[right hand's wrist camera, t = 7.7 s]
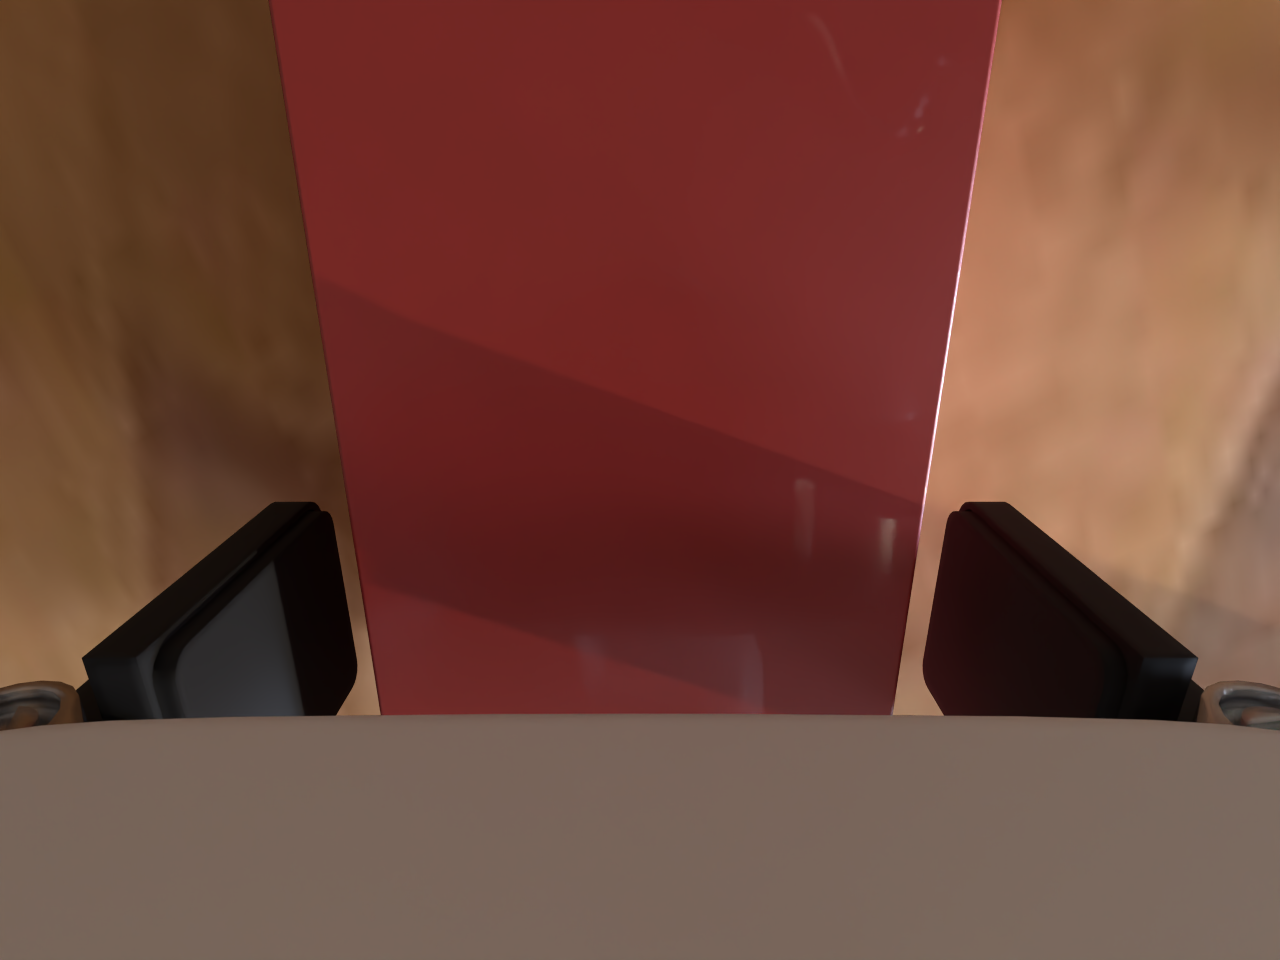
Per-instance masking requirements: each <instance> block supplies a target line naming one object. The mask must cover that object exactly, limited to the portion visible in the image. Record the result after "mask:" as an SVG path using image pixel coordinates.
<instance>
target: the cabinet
mask: <svg viewBox="0 0 1280 960" xmlns="http://www.w3.org/2000/svg"><path fill="white" fill-rule="evenodd" d="M268 1H269V7H270V14H271V20H272V26H273V33H274V39H275V45H276V52H277V58H278V64H279V71H280V77H281V83H282V90H283V96H284V103H285V109H286V115H287V122H288V128H289V134H290V141H291V147H292V153H293V160H294V166H295V172H296V179H297V185H298V192H299V198H300V204H301V211H302V217H303V223H304V230H305V236H306V242H307V249H308V255H309V261H310V268H311V274H312V281H313V287H314V293H315V300H316V306H317V312H318V319H319V325H320V331H321V338H322V344H323V350H324V357H325V363H326V369H327V376H328V382H329V389H330V395H331V401H332V408H333V414H334V420H335V427H336V433H337V439H338V446H339V452H340V458H341V465H342V471H343V478H344V484H345V490H346V497H347V503H348V509H349V516H350V522H351V528H352V535H353V541H354V547H355V554H356V560H357V567H358V573H359V579H360V586H361V592H362V598H363V605H364V611H365V617H366V624H367V630H368V636H369V643H370V649H371V656H372V662H373V668H374V675H375V681H376V687H377V694H378V700H379V706H380V713H381V715H457V714H798V715H892V714H893V707H894V701H895V694H896V688H897V681H898V675H899V668H900V662H901V655H902V649H903V642H904V636H905V629H906V622H907V616H908V609H909V603H910V596H911V590H912V583H913V577H914V570H915V564H916V557H917V551H918V544H919V538H920V531H921V525H922V518H923V511H924V505H925V498H926V492H927V485H928V479H929V472H930V466H931V459H932V453H933V446H934V440H935V433H936V427H937V420H938V414H939V407H940V400H941V394H942V387H943V381H944V374H945V368H946V361H947V355H948V348H949V342H950V335H951V329H952V322H953V316H954V309H955V303H956V296H957V289H958V283H959V276H960V270H961V263H962V257H963V250H964V244H965V237H966V231H967V224H968V218H969V211H970V205H971V198H972V192H973V185H974V178H975V172H976V165H977V159H978V152H979V146H980V139H981V133H982V126H983V120H984V113H985V107H986V100H987V94H988V87H989V81H990V74H991V67H992V61H993V54H994V48H995V41H996V35H997V28H998V22H999V15H1000V9H1001V2H1002V0H268Z"/></svg>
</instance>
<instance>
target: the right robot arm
mask: <svg viewBox="0 0 1280 960" xmlns="http://www.w3.org/2000/svg"><path fill="white" fill-rule="evenodd" d="M82 660H83V663H84V666H85V669H86V672H87V675H88V678H89V680H87V681H86V682H85V683H84V684H83V685H82V686H81V687H79V688H78V689H77V690H75V689H74V687H73V686H70V685H68V684H65V683H63V682H57V681H35V682H26V683H18V684H14V685H11V686H7V687H3V688H0V960H1280V688H1277V687H1273V686H1269V685H1266V684H1262V683H1254V682H1245V681H1223V682H1217V683H1215V684H1212V685H1210V686H1207V687H1206V689H1205V690H1203V689H1202V688H1201V687H1199V686H1198V685H1197V684H1196V683H1195V682H1194V681H1193V680H1191V678H1192V675H1193V672H1194V669H1195V666H1196V663H1197V660H1198V657H1196V656H1195V655H1194V654H1193V653H1192V652H1190V651H1189V650H1188V649H1187V648H1185V647H1184V646H1183V645H1182V644H1181V643H1179V642H1178V641H1177V640H1176V639H1174V638H1173V637H1172V636H1171V635H1169V634H1168V633H1167V632H1166V631H1165V630H1163V629H1162V628H1161V627H1160V626H1158V625H1157V624H1156V623H1155V622H1154V621H1152V620H1151V619H1150V618H1149V617H1147V616H1146V615H1145V614H1144V613H1142V612H1141V611H1140V610H1139V609H1138V608H1136V607H1135V606H1134V605H1133V604H1131V603H1130V602H1129V601H1128V600H1127V599H1125V598H1124V597H1123V596H1122V595H1120V594H1119V593H1118V592H1117V591H1115V590H1114V589H1113V588H1112V587H1111V586H1109V585H1108V584H1107V583H1106V582H1104V581H1103V580H1102V579H1101V578H1100V577H1098V576H1097V575H1096V574H1095V573H1093V572H1092V571H1091V570H1090V569H1089V568H1087V567H1086V566H1085V565H1084V564H1082V563H1081V562H1080V561H1079V560H1077V559H1076V558H1075V557H1074V556H1073V555H1071V554H1070V553H1069V552H1068V551H1066V550H1065V549H1064V548H1063V547H1062V546H1060V545H1059V544H1058V543H1057V542H1055V541H1054V540H1053V539H1052V538H1050V537H1049V536H1048V535H1047V534H1046V533H1044V532H1043V531H1042V530H1041V529H1039V528H1038V527H1037V526H1036V525H1035V524H1033V523H1032V522H1031V521H1030V520H1028V519H1027V518H1026V517H1025V516H1024V515H1022V514H1021V513H1020V512H1019V511H1017V510H1016V509H1015V508H1014V507H1012V506H1011V505H1010V504H1008V503H1006V502H965V503H964V504H963V505H962V506H961V508H960V510H959V511H954V512H952V513H951V514H950V515H949V517H948V520H947V524H946V530H945V535H944V541H943V547H942V553H941V559H940V565H939V570H938V576H937V582H936V588H935V594H934V600H933V605H932V611H931V617H930V623H929V629H928V634H927V640H926V646H925V652H924V658H923V675H924V680H925V683H926V685H927V687H928V689H929V691H930V693H931V694H932V696H933V698H934V699H935V701H936V703H937V704H938V706H939V708H940V709H941V711H942V713H943V714H944V716H916V715H798V714H457V715H364V716H336V714H337V713H338V711H339V709H340V708H341V706H342V704H343V703H344V701H345V699H346V698H347V696H348V694H349V693H350V691H351V689H352V687H353V685H354V683H355V680H356V675H357V658H356V652H355V646H354V640H353V635H352V629H351V623H350V617H349V611H348V605H347V600H346V594H345V588H344V582H343V576H342V570H341V565H340V559H339V553H338V547H337V541H336V535H335V530H334V524H333V520H332V517H331V515H330V514H329V513H328V512H326V511H321V510H320V508H319V506H318V505H317V504H316V503H315V502H274V503H272V504H270V505H269V506H268V507H266V508H265V509H264V510H263V511H261V512H260V513H259V514H258V515H256V516H255V517H254V518H253V519H252V520H250V521H249V522H248V523H247V524H245V525H244V526H243V527H242V528H241V529H239V530H238V531H237V532H236V533H234V534H233V535H232V536H231V537H230V538H228V539H227V540H226V541H225V542H223V543H222V544H221V545H220V546H218V547H217V548H216V549H215V550H214V551H212V552H211V553H210V554H209V555H207V556H206V557H205V558H204V559H203V560H201V561H200V562H199V563H198V564H196V565H195V566H194V567H193V568H191V569H190V570H189V571H188V572H187V573H185V574H184V575H183V576H182V577H180V578H179V579H178V580H177V581H176V582H174V583H173V584H172V585H171V586H169V587H168V588H167V589H166V590H165V591H163V592H162V593H161V594H160V595H158V596H157V597H156V598H155V599H153V600H152V601H151V602H150V603H149V604H147V605H146V606H145V607H144V608H142V609H141V610H140V611H139V612H138V613H136V614H135V615H134V616H133V617H131V618H130V619H129V620H128V621H126V622H125V623H124V624H123V625H122V626H120V627H119V628H118V629H117V630H115V631H114V632H113V633H112V634H111V635H109V636H108V637H107V638H106V639H104V640H103V641H102V642H101V643H99V644H98V645H97V646H96V647H95V648H93V649H92V650H91V651H90V652H88V653H87V654H86V655H85V656H84V657H82Z"/></svg>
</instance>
